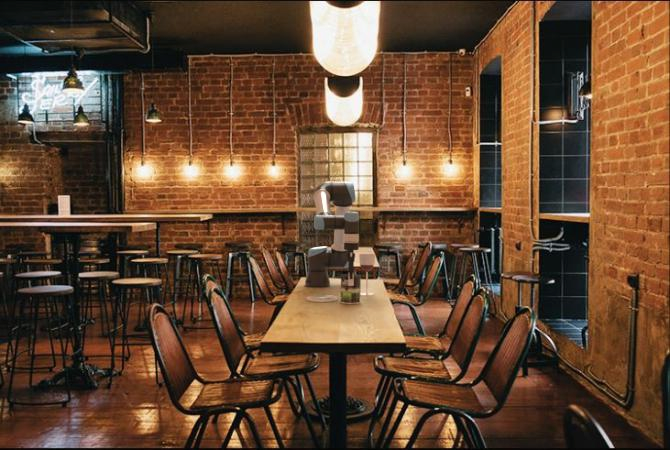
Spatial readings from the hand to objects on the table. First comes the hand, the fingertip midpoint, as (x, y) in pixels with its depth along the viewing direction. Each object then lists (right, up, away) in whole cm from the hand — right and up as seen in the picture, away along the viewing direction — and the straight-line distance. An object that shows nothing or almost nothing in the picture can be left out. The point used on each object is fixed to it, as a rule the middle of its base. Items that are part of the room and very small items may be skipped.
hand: (350, 283), depth 305 cm
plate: (-15, -9, +8) cm, 19 cm away
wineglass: (+10, -9, +27) cm, 30 cm away
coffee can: (0, -10, +1) cm, 10 cm away
